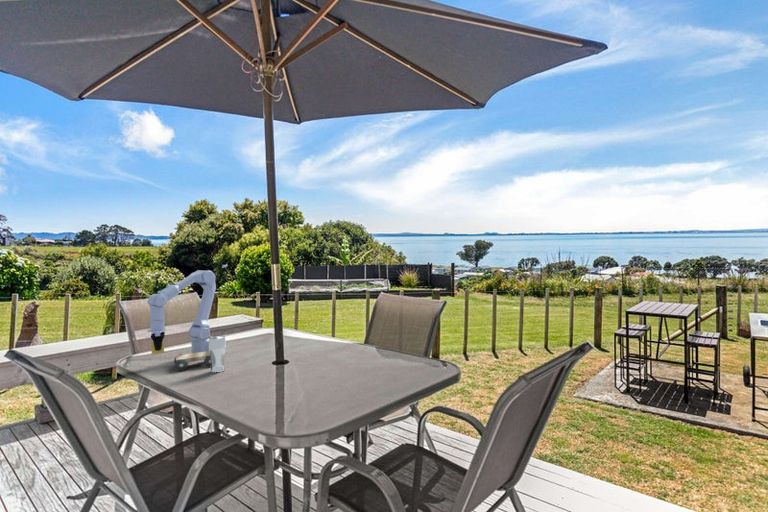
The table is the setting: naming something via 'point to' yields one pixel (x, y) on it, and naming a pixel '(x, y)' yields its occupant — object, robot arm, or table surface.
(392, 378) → the table surface
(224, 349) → the beer glass
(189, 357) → the dolly
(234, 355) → the table surface
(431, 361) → the table surface
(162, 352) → the block
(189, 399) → the table surface
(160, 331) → the robot arm
